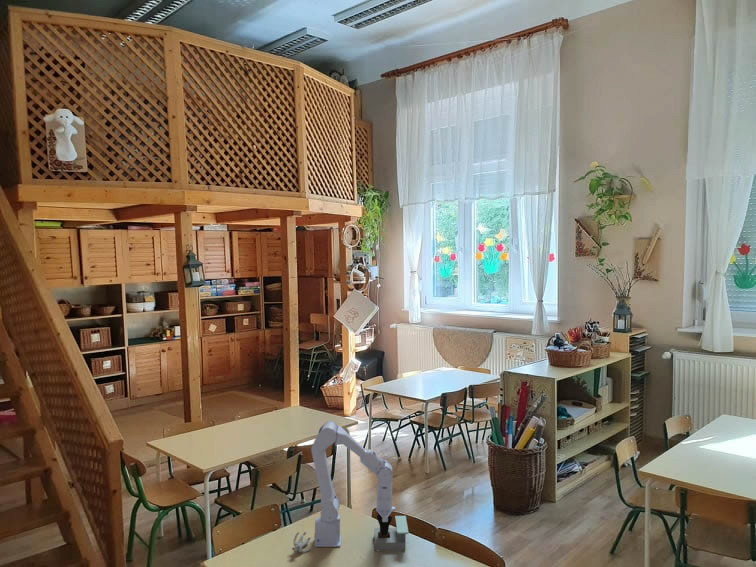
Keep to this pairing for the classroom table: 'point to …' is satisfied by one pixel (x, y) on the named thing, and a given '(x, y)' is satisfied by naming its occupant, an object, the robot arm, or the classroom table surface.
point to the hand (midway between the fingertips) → (384, 532)
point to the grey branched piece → (300, 544)
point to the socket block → (392, 536)
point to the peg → (383, 535)
